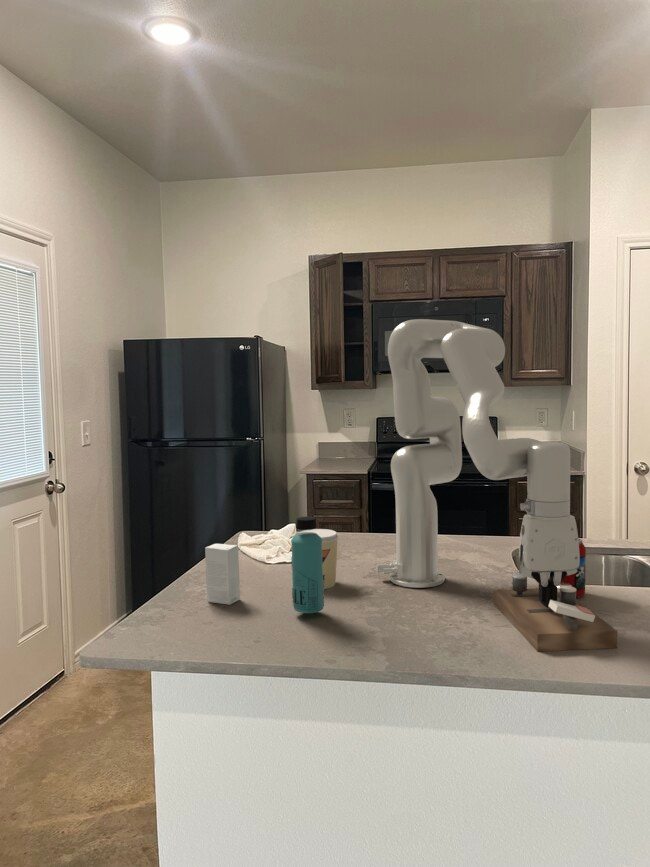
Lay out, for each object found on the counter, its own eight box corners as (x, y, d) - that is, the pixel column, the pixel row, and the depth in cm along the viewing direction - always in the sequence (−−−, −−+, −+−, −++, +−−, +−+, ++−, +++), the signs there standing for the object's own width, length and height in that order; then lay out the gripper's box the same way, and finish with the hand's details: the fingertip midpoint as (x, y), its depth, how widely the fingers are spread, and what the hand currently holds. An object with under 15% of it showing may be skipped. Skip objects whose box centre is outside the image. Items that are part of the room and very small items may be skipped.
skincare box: (240, 599, 144) (239, 545, 143) (230, 605, 140) (228, 549, 139) (217, 596, 147) (215, 542, 146) (206, 602, 143) (204, 547, 142)
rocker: (555, 612, 115) (557, 604, 115) (548, 606, 118) (550, 598, 118) (593, 622, 115) (595, 614, 115) (585, 615, 118) (587, 608, 118)
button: (558, 598, 128) (558, 587, 127) (551, 592, 131) (551, 582, 131) (574, 597, 128) (574, 587, 128) (567, 592, 131) (567, 582, 131)
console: (537, 651, 114) (537, 624, 113) (493, 604, 138) (493, 581, 137) (617, 647, 114) (617, 620, 114) (560, 601, 138) (560, 578, 138)
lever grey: (515, 596, 132) (515, 578, 132) (510, 591, 135) (510, 573, 135) (529, 595, 132) (529, 577, 132) (524, 591, 135) (524, 573, 135)
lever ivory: (563, 610, 123) (563, 591, 123) (557, 605, 126) (557, 586, 126) (578, 610, 123) (579, 590, 123) (572, 604, 126) (572, 585, 126)
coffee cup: (291, 588, 151) (290, 536, 150) (308, 576, 160) (307, 527, 159) (330, 592, 147) (328, 539, 146) (344, 580, 156) (343, 530, 155)
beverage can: (587, 600, 138) (588, 544, 137) (554, 599, 140) (554, 543, 139) (582, 590, 145) (582, 536, 144) (549, 589, 146) (550, 535, 145)
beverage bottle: (329, 611, 135) (327, 514, 134) (318, 622, 129) (316, 521, 128) (299, 608, 138) (297, 513, 136) (287, 619, 131) (284, 519, 130)
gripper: (515, 514, 119) (515, 613, 120) (597, 511, 120) (595, 610, 121) (502, 506, 126) (502, 600, 128) (578, 503, 127) (577, 596, 129)
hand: (547, 604), depth 125 cm, fingers closed
